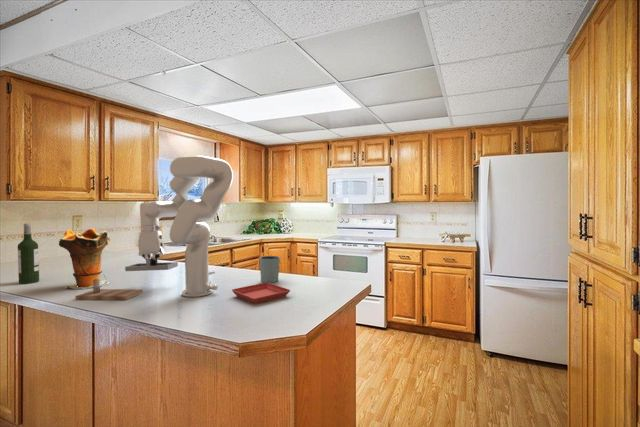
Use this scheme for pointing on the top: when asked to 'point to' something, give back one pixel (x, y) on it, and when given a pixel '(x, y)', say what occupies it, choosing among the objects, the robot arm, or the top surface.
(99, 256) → the decorative vase
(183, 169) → the robot arm
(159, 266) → the grey rectangular tray
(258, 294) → the plant saucer
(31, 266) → the wine bottle
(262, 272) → the grey green bin
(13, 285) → the top surface
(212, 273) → the adjustable wrench
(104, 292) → the keeper
